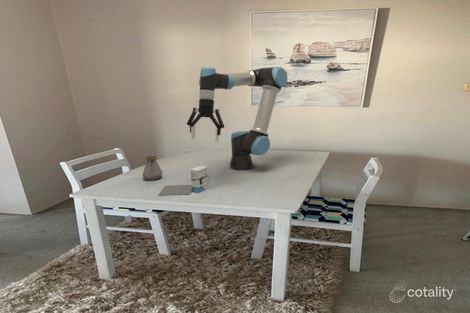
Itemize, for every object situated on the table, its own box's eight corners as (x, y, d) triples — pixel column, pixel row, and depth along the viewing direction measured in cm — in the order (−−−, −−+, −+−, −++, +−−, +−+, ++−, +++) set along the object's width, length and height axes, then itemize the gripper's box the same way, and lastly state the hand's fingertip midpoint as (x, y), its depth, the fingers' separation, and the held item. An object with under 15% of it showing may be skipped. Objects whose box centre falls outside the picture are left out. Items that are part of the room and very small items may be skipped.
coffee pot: (142, 176, 182) (139, 152, 178) (162, 174, 185) (159, 150, 182) (143, 188, 162) (140, 161, 158) (165, 185, 165) (162, 158, 162)
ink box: (199, 192, 152) (197, 170, 149) (191, 191, 154) (189, 169, 152) (209, 187, 159) (207, 166, 156) (201, 186, 161) (200, 165, 159)
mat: (194, 185, 163) (194, 184, 163) (190, 194, 150) (190, 193, 150) (165, 186, 164) (164, 185, 164) (158, 195, 150) (158, 195, 150)
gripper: (181, 97, 153) (179, 138, 157) (226, 99, 146) (224, 143, 149) (188, 98, 160) (186, 137, 164) (232, 100, 153) (229, 142, 156)
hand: (204, 140), depth 156 cm, fingers open, 13 cm apart
